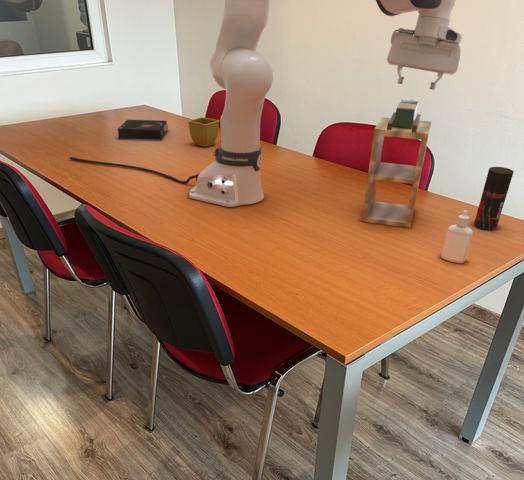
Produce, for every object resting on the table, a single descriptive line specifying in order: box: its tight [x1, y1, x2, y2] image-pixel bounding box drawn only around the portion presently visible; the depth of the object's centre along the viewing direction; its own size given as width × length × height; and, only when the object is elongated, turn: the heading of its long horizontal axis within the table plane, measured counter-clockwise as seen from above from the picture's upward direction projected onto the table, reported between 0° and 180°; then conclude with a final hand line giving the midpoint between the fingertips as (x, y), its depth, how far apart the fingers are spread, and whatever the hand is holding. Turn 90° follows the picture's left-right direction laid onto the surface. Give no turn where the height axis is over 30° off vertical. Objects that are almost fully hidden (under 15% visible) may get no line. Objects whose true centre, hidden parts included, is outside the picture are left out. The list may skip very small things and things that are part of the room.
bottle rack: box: [361, 111, 432, 229], centre depth 138 cm, size 13×14×26 cm
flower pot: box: [187, 116, 220, 148], centre depth 199 cm, size 9×9×9 cm
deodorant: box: [473, 166, 514, 231], centre depth 136 cm, size 6×6×15 cm
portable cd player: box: [117, 119, 169, 142], centre depth 211 cm, size 16×17×4 cm
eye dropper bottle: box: [440, 209, 474, 264], centre depth 119 cm, size 4×6×12 cm
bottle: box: [394, 99, 419, 129], centre depth 134 cm, size 20×4×4 cm, turn 162°
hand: (415, 86), depth 151 cm, fingers open, 8 cm apart
